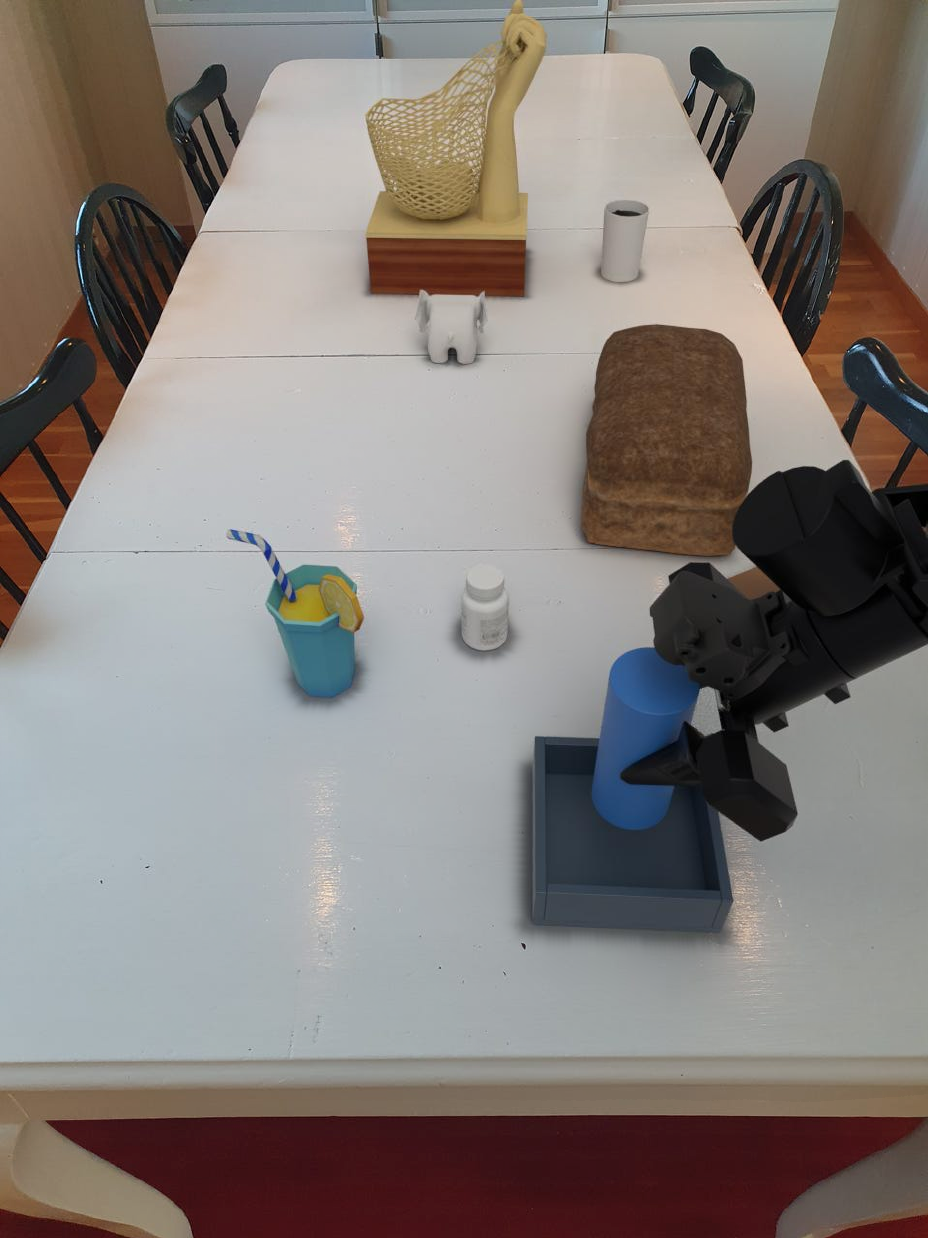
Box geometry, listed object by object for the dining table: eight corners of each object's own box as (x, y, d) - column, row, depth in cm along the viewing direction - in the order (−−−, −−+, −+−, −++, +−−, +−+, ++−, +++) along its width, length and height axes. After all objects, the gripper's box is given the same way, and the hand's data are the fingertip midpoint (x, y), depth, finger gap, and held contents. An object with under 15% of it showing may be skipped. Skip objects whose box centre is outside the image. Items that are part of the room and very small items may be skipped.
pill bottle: (515, 629, 87) (518, 570, 82) (492, 658, 85) (493, 599, 79) (477, 612, 89) (477, 553, 83) (452, 640, 86) (451, 581, 81)
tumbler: (684, 813, 65) (718, 696, 55) (616, 842, 63) (639, 726, 54) (642, 755, 68) (668, 636, 59) (577, 780, 67) (593, 663, 58)
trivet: (857, 624, 87) (862, 613, 86) (777, 661, 84) (781, 650, 83) (786, 563, 94) (789, 552, 92) (709, 595, 90) (711, 584, 89)
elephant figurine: (490, 330, 129) (491, 269, 123) (486, 374, 121) (486, 310, 114) (423, 328, 129) (420, 268, 123) (415, 372, 121) (411, 309, 115)
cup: (231, 674, 84) (195, 551, 73) (281, 621, 88) (255, 498, 78) (359, 731, 79) (340, 608, 68) (404, 671, 84) (394, 548, 73)
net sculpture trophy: (536, 250, 148) (548, -7, 123) (535, 301, 135) (548, 27, 110) (384, 247, 149) (365, -7, 124) (369, 298, 136) (345, 26, 111)
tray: (696, 777, 75) (706, 741, 72) (720, 933, 66) (733, 901, 62) (532, 770, 76) (534, 735, 72) (532, 925, 66) (535, 893, 63)
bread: (729, 409, 114) (751, 310, 105) (737, 569, 93) (767, 463, 84) (593, 397, 116) (603, 299, 107) (572, 552, 95) (582, 446, 86)
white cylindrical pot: (599, 283, 139) (606, 216, 132) (596, 264, 144) (602, 199, 137) (643, 283, 139) (652, 216, 132) (638, 264, 144) (647, 199, 136)
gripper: (727, 458, 56) (539, 584, 64) (787, 690, 43) (541, 811, 51) (823, 558, 61) (637, 662, 69) (902, 792, 48) (662, 886, 56)
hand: (620, 742), depth 61 cm, fingers closed on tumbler, 5 cm apart
